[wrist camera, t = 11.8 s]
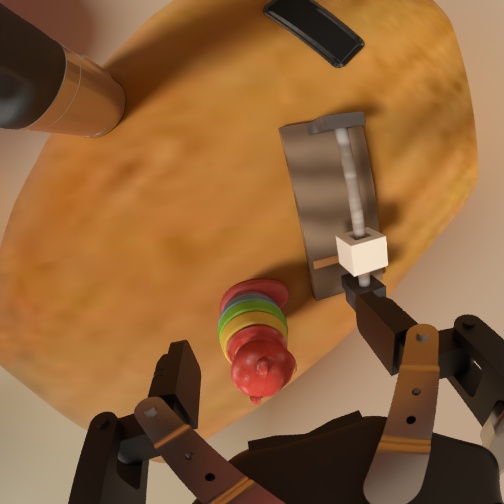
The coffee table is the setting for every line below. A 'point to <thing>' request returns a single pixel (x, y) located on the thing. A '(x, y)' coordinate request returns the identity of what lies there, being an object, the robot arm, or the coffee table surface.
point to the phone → (316, 29)
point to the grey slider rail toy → (332, 198)
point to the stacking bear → (256, 337)
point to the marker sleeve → (362, 252)
